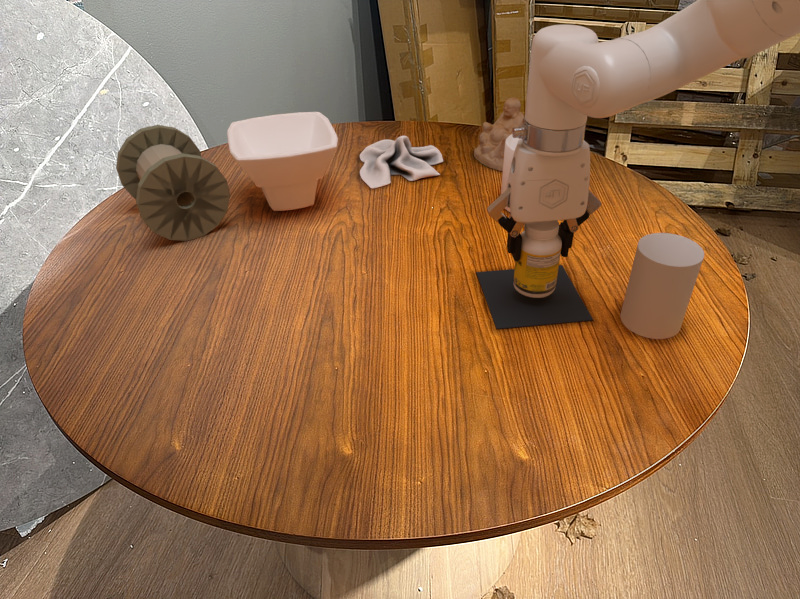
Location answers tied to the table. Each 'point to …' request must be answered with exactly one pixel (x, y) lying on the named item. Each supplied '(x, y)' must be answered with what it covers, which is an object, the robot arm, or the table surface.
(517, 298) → the mat
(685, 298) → the grey upright cylinder
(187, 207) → the spool
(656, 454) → the table surface
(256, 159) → the bowl
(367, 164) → the cloth
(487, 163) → the statue
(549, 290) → the pill bottle
